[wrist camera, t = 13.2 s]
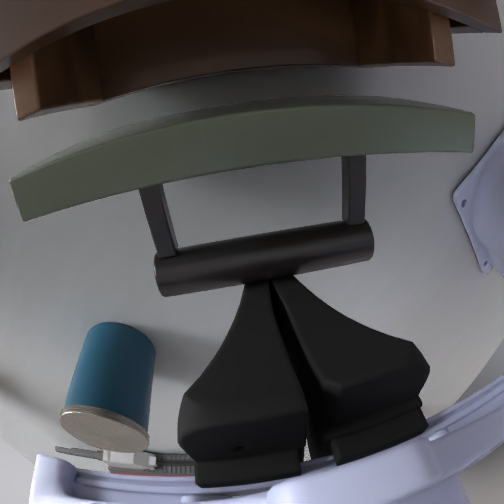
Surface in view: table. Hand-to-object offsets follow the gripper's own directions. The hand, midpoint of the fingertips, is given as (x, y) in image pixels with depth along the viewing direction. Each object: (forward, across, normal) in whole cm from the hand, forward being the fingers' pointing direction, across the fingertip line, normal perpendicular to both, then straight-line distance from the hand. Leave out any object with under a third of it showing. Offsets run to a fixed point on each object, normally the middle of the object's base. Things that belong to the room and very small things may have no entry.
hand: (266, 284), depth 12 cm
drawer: (+2, 0, -10) cm, 10 cm away
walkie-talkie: (+3, +18, +27) cm, 33 cm away
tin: (+3, +10, +6) cm, 12 cm away
